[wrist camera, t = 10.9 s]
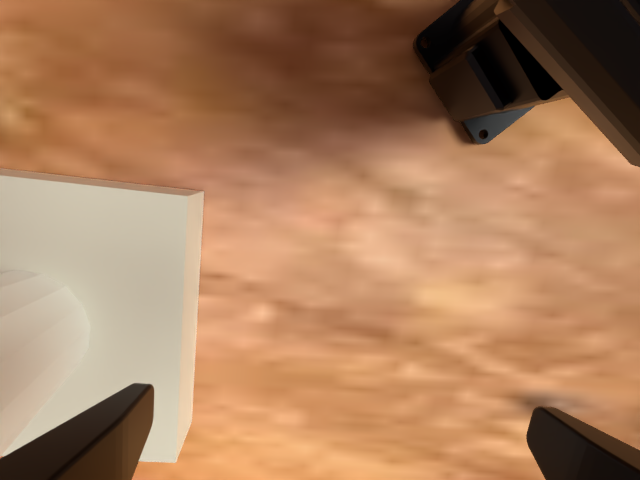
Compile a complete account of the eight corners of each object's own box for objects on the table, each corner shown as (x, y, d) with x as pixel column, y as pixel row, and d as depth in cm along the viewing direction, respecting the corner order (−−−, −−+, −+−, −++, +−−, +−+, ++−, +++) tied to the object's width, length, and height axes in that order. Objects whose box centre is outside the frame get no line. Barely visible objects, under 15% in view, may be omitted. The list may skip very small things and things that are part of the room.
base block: (-90, 157, 17) (-169, 156, 14) (204, 191, 18) (187, 196, 16) (-62, 409, 20) (-122, 451, 17) (191, 421, 21) (175, 462, 18)
